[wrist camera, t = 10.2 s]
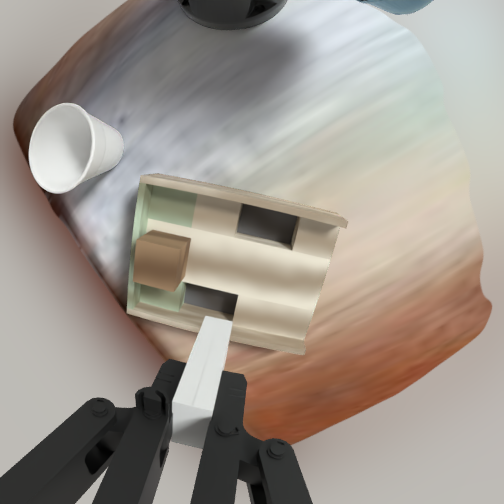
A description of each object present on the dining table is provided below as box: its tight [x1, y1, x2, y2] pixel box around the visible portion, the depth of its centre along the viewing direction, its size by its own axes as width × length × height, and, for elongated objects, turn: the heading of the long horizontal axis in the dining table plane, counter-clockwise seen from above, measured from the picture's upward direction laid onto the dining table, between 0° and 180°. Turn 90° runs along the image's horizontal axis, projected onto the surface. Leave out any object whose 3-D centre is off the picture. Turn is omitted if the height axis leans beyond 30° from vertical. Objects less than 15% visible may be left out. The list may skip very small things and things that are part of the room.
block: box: [133, 230, 191, 292], centre depth 34 cm, size 5×5×5 cm
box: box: [127, 173, 348, 355], centre depth 37 cm, size 18×23×6 cm
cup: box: [29, 103, 124, 194], centre depth 31 cm, size 10×10×11 cm
